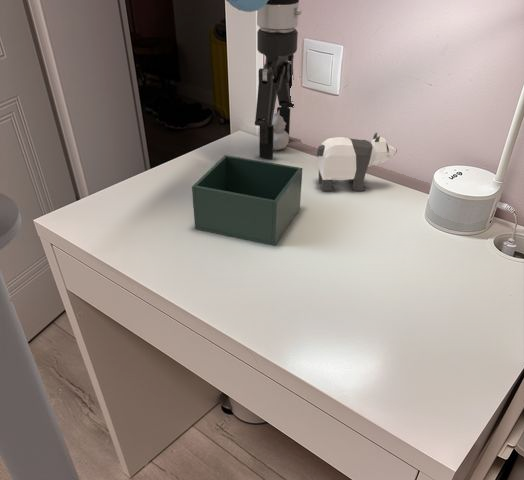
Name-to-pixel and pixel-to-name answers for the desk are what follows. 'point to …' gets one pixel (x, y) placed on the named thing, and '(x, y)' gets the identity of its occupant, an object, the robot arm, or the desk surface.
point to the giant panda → (350, 160)
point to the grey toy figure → (279, 132)
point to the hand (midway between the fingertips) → (274, 147)
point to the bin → (247, 199)
